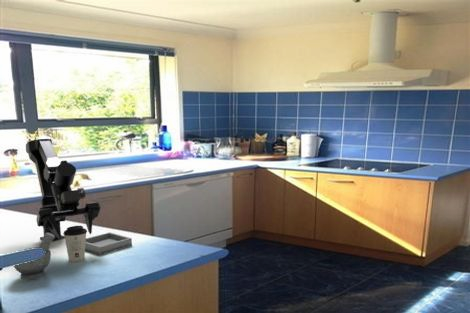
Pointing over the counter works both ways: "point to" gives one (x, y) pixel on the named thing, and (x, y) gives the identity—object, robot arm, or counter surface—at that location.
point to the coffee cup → (75, 242)
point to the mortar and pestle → (36, 262)
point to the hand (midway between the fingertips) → (75, 235)
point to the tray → (107, 243)
